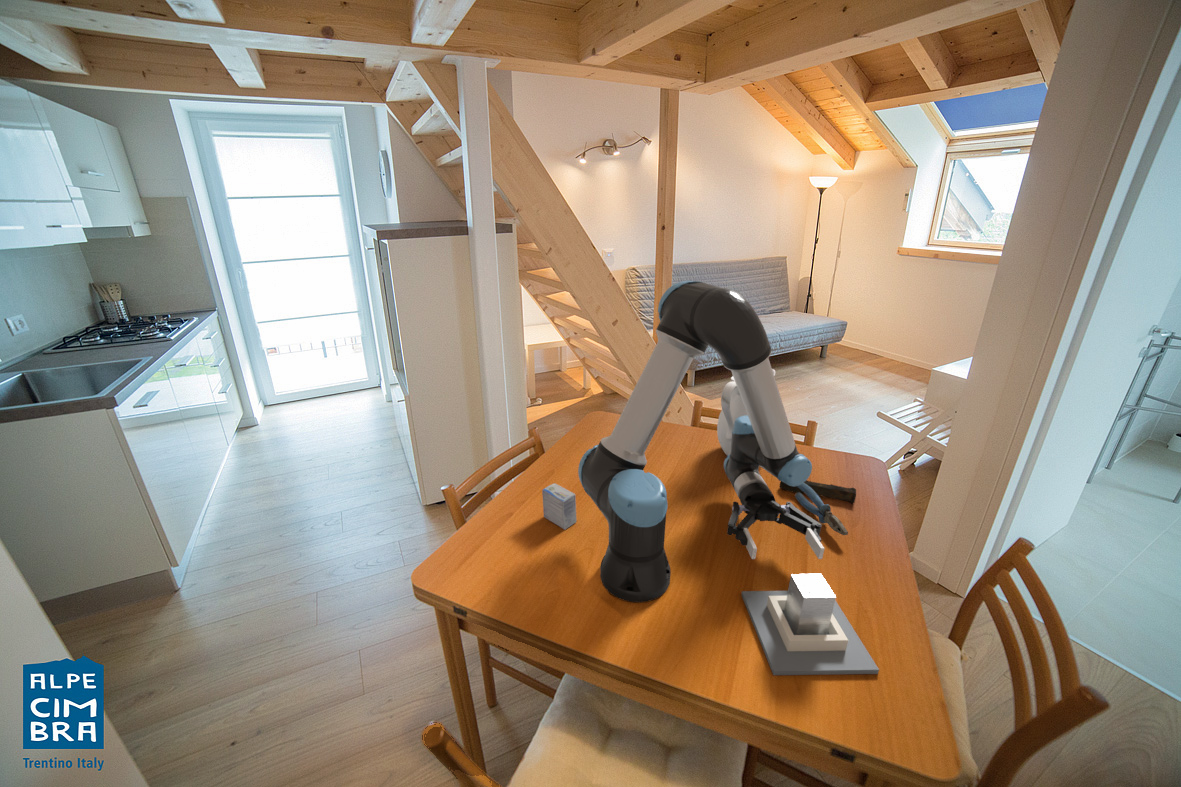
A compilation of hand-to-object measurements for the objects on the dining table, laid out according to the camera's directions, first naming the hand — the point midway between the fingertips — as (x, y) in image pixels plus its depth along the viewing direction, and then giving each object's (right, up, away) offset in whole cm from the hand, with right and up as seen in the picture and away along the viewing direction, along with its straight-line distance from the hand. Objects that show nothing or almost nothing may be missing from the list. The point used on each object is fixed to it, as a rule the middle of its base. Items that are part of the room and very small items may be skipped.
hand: (788, 553), depth 96 cm
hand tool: (+22, +4, +35) cm, 42 cm away
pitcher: (+6, +12, +55) cm, 57 cm away
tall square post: (0, -11, -7) cm, 13 cm away
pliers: (+18, 0, +25) cm, 31 cm away
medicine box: (-48, 0, +26) cm, 54 cm away
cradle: (0, -12, -6) cm, 14 cm away
